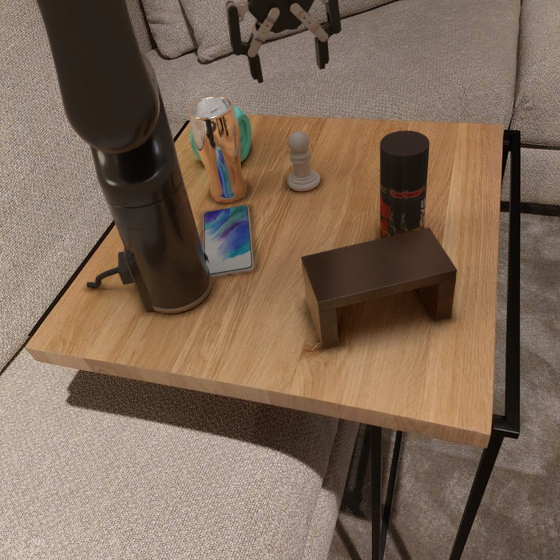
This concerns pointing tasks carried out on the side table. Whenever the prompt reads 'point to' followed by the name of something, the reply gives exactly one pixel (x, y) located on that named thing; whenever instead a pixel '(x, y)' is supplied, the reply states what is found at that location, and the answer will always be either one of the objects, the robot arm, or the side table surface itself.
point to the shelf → (377, 277)
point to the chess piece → (301, 163)
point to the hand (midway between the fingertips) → (290, 73)
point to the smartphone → (228, 241)
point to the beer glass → (219, 146)
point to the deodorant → (403, 182)
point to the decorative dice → (244, 134)
